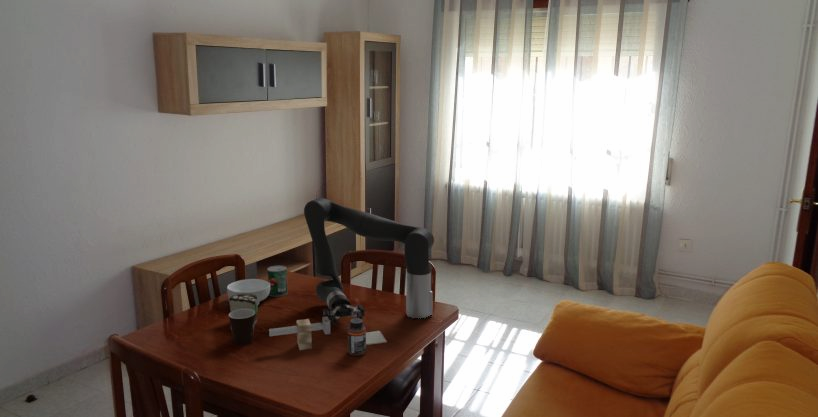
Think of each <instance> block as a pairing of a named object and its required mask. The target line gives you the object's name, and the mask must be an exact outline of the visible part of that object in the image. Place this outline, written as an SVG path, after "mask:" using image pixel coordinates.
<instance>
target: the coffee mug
mask: <svg viewBox="0 0 818 417" xmlns="http://www.w3.org/2000/svg"><path fill="white" fill-rule="evenodd" d="M228 318H229V319H228V320H229V324H230V329H231V335H232V341H233V344H235V345H237V346H246V345H249V344H251V343H253V342H254V335H255V334H254V331H255V326H254V320H255V311H253V310H251V309H238V310H234V311H232V312H231V311H230V312H229V313H228Z"/></svg>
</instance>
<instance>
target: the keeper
mask: <svg viewBox="0 0 818 417" xmlns="http://www.w3.org/2000/svg"><path fill="white" fill-rule="evenodd" d="M311 324H312V323H311V322H310V318H306V319H305V318H304V319H297V320H296V326H298V333H296V337H297V338H296V339H297V341H296V342H297V346H298V350H299V351H304V350H312V349H313V348H312V347H313V344H312V331H311Z"/></svg>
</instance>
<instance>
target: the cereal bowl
mask: <svg viewBox="0 0 818 417" xmlns="http://www.w3.org/2000/svg"><path fill="white" fill-rule="evenodd" d="M226 291H227V292H226V293H227V296H228V297H229V296H231V295H234V294H239V293H252V294H255V295H257V296H258V298H259V302H262V301H264V300H265V299H267V297H268V296H270V295H269V293H270V283H269V282H268V280H265V279H259V278H248V279H246V278H245V279H240V280H237V281H234V282H231V283H229V284H227V287H226Z"/></svg>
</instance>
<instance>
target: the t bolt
mask: <svg viewBox="0 0 818 417" xmlns="http://www.w3.org/2000/svg"><path fill="white" fill-rule="evenodd" d="M321 319H322V321H321V322H315V323H311V332H315V331H321V330H322V331H323V333H324V335H331V320H329V318H328V317H324V316H322V318H321ZM297 333H298V326H297V325H292V326H283V327H277V328H276V327H274V328H269V329H268V335H269V337H273V336H283V335H291V334H297Z"/></svg>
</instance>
